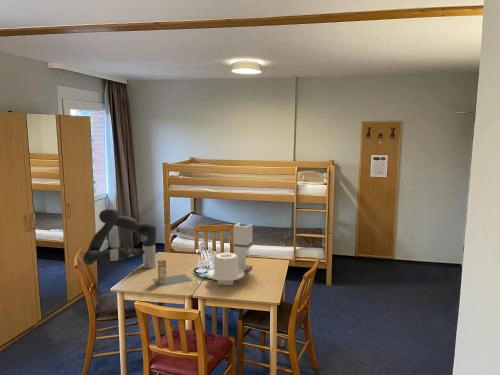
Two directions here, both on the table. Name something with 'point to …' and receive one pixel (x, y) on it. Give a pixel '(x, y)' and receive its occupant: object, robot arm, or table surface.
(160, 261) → the birch block
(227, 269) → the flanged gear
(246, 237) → the grey notched tower
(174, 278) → the rubber mat
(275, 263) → the table surface
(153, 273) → the table surface
